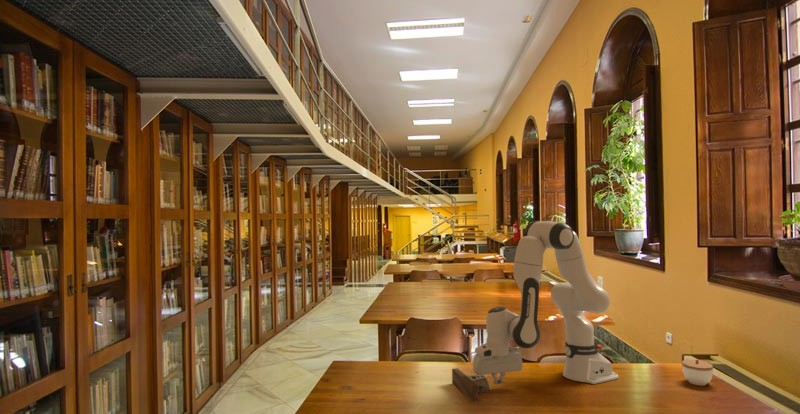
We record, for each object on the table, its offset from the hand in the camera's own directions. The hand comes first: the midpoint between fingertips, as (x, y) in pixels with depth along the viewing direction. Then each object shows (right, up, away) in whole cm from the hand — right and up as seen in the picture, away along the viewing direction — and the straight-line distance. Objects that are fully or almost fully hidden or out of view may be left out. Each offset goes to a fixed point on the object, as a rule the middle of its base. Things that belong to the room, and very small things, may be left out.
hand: (498, 383), depth 186 cm
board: (-14, -2, -4) cm, 15 cm away
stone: (-9, -3, +1) cm, 9 cm away
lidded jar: (+82, -1, +4) cm, 82 cm away
